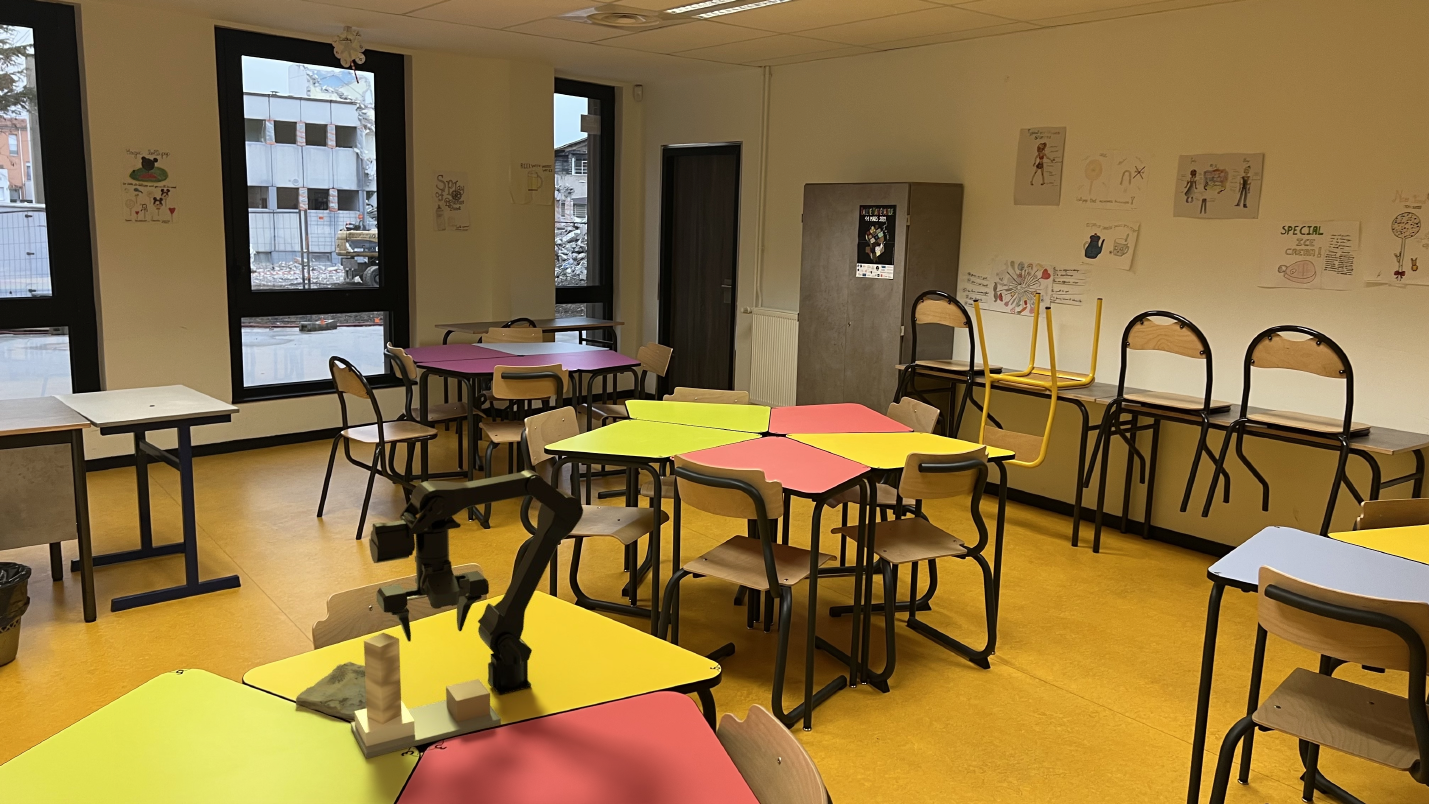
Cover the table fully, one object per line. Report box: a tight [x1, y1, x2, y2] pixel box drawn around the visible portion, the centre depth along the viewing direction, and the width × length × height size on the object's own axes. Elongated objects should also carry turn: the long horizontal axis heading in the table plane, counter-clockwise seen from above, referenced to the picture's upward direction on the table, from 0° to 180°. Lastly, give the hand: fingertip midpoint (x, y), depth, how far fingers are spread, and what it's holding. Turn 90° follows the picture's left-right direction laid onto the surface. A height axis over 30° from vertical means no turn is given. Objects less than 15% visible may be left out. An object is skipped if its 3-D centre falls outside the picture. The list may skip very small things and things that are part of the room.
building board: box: [350, 678, 502, 759], centre depth 174 cm, size 23×11×5 cm, turn 122°
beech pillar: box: [363, 632, 402, 724], centre depth 169 cm, size 4×4×14 cm
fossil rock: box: [295, 661, 367, 721], centre depth 185 cm, size 18×15×2 cm
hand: (434, 635), depth 180 cm, fingers open, 9 cm apart
